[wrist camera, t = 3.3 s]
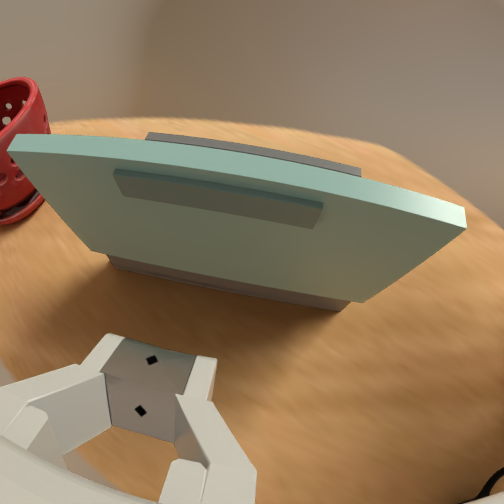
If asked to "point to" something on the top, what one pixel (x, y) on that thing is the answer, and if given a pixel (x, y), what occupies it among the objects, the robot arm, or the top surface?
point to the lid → (236, 213)
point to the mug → (488, 486)
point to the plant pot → (22, 122)
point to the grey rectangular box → (226, 283)
